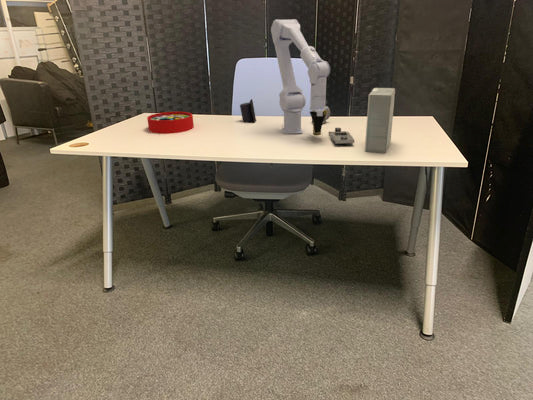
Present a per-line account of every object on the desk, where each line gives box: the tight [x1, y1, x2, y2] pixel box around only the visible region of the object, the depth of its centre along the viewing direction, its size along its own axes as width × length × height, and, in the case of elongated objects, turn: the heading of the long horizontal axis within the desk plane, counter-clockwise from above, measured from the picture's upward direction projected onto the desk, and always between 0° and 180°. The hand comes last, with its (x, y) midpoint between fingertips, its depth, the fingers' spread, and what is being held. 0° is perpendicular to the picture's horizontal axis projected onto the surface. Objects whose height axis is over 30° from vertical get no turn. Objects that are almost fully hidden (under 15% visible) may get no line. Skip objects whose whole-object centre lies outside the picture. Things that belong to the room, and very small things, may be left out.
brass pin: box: [312, 123, 322, 137], centre depth 153 cm, size 3×3×6 cm
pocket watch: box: [311, 102, 331, 125], centre depth 180 cm, size 8×8×10 cm
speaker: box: [239, 99, 257, 124], centre depth 186 cm, size 8×6×10 cm
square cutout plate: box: [327, 127, 355, 147], centre depth 153 cm, size 18×7×3 cm, turn 179°
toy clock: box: [146, 111, 195, 135], centre depth 178 cm, size 20×6×20 cm
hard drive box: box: [364, 87, 396, 154], centre depth 140 cm, size 16×8×20 cm, turn 159°
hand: (317, 130), depth 154 cm, fingers closed on brass pin, 3 cm apart
